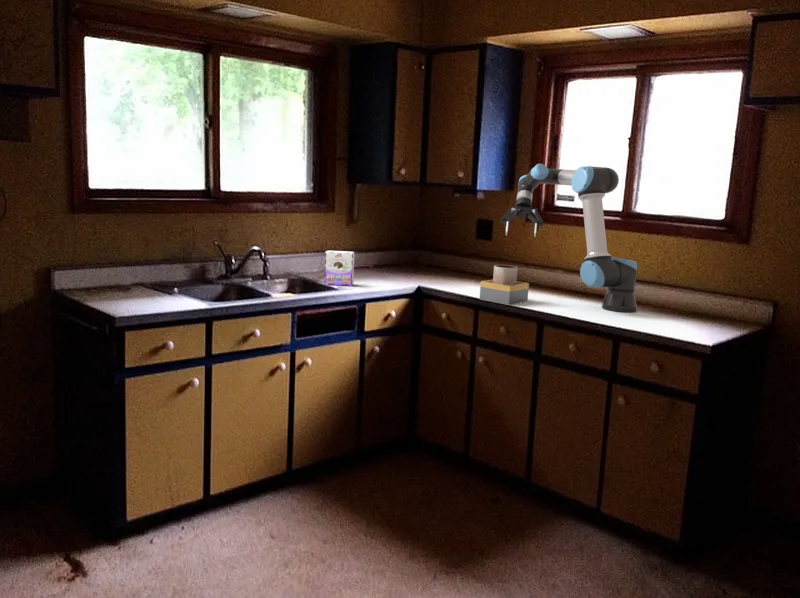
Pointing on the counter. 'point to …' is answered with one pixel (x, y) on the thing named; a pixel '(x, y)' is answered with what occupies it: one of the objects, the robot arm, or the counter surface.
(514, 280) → the planter
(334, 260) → the candy box
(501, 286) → the square cup holder
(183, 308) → the counter surface
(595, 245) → the robot arm
